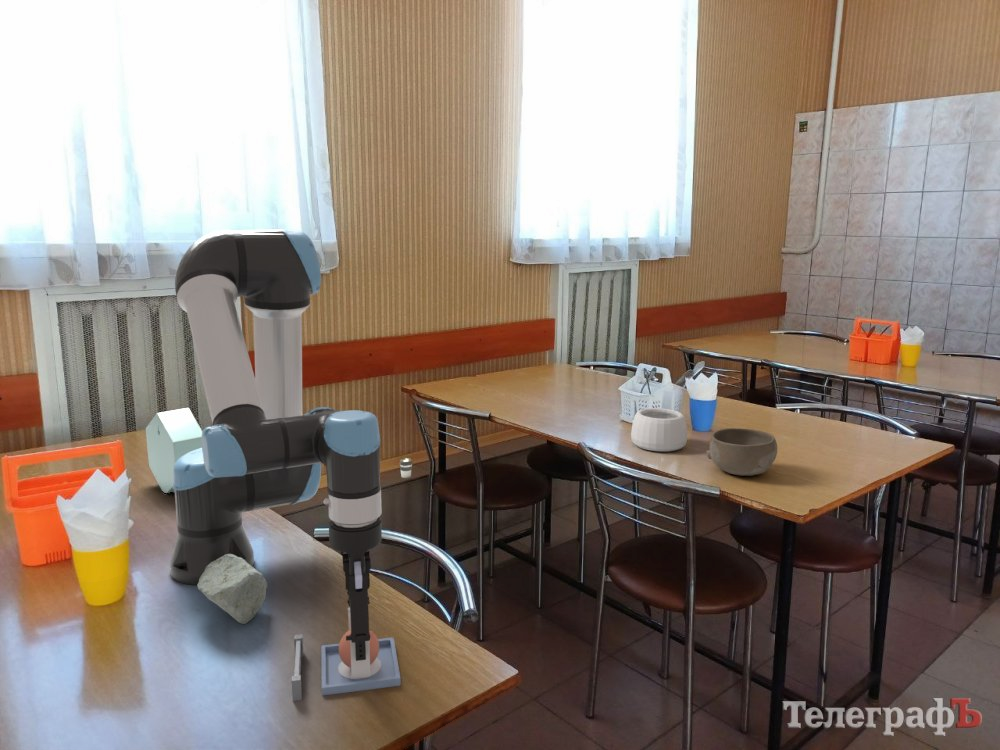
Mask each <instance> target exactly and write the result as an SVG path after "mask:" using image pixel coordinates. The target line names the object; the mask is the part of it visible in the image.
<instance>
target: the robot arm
mask: <svg viewBox="0 0 1000 750" xmlns="http://www.w3.org/2000/svg"><path fill="white" fill-rule="evenodd" d="M321 285H322V274H321V267H320V261H319V256H318V253H317V250H316V247H315V245H314V243H313V241H312V239H311V238H310V237H309V235H308V234H307V233H305V232H303V231H300V230H293V229H292V230H288V229H282V228H281V229H243V230H242V229H241V230H238V229H237V230H231V229H221V230H215V231H212V232H210V233H207V234H205V235H203V236H201V237H200V238H199V239H197V240H195V241H194V243H193V244H191V245H190V246H189V247H188V249H187V250H186V251H185V253H184V254H183V256H182V258H181V259H180V261H179V263H178V267H177V269H176V273H175V278H174V291H175V295H176V301H177V304H178V306H179V307H180V309H181V310H183V311H184V312H185V313H186V315H187V320H188V323H189V328H190V333H191V336H192V340H193V345H194V348H195V349H194V350H195V353H196V358H197V359H196V360H197V363H198V367H199V371H200V376H201V380H202V383H203V389H204V394H205V399H206V402H207V406H208V410H209V416H210V420H211V424H212V425H211V426H207V427H205V428H204V429H203V430H202V448H199V449H196V450H193V451H191V452H189V453H186V454H185V455H183V456H182V457H180V458H179V459H178V460H177V461H176V463H175V464H174V468H173V489H174V490H175V492H174V499H175V500H174V501H175V514H176V516H175V517H176V526H177V527H176V528H177V537H176V538H175V544H174V547H173V551H172V555H171V559H170V564H169V566H170V567H169V568H170V574H171V575H170V576H171V578H172V579H173V580H174V581H176V582H178V583H180V584H184V585H190V586H191V585H192V586H197V584H198V583H199V579H200V577H201V575H202V574H203V573H204V571H205V569H206V566H207V565H209V564H210V563H211V562H213V561H215V560H217V559H218V558H220V557H222V556H224V555H225V554H233V555H235V556H237V557H240V558H243V560H245V561H246V562H247V563H248V564H249V565H251V566H252V567H253V568H254V564H255V554H254V553H255V552H254V548H253V546H252V544H251V541H250V540H249V538H248V535H247V532H246V530H245V529H244V524H243V513H246V512H252V511H258V510H264V509H269V508H275V507H276V508H277V507H282V506H287V505H288V506H289V505H291V506H292V505H296V504H297V503H301V502H306V501H309V500H311V499H312V498H314V496H315V495H316V494H317V492H318V490H319V488H320V484H321V483H320V482H321V476H322V464H323V465H324V466H325V468H326V481H327V482H326V484H327V485H326V486H327V489H326V490H327V497H324V499H323V504H324V505H326V506H328V518H329V519H330V520H329V522H328V540H329V545H330V547H331V548H332V549H334V550H335V551H338V552H340V553H341V552H342V556H341V557H342V569H343V572H344V577H345V578H344V579H345V590H346V594H347V597H348V599H347V604H348V606H349V607H347V615H348V616H347V617H348V631H349V630H351V634H350V635H347V636H346V641H348V640H350V649H351V677H352V679H354V678H362V677H370V642H369V640H370V633H369V629H370V620H369V619H370V617H369V614H370V613H369V605H370V597H369V591H368V590H369V589H370V587H371V582H370V581H371V580H370V571H371V568H372V564H371V562H372V561H371V557H370V550H373V549H375V548H377V547H378V546H379V545H380V544H381V542H382V540H383V538H382V537H383V536H382V533H383V532H382V518H381V517H380V516H381V515H382V513H383V512H382V488H381V451H380V449H381V448H380V447H381V446H380V445H381V435H380V428H379V420H378V418H377V416H376V415H375V414H374V413H372V412H370V411H364V410H361V409H358V410H357V409H356V410H355V409H351V410H350V409H349V410H341V411H339V410H336V409H333V408H332V407H326V406H319V407H315V408H311V409H310V410H309V411H307V412H305V414H303V334H302V333H303V332H302V331H303V327H302V326H303V325H302V324H303V321H302V319H303V317H302V316H303V313H304V312H305V311H306V310H307V309H308V308H309V307H310V304H311V295H312V296H315V294H318V293H319V292H320V289H321ZM238 297H240V298H241V297H244V299H243V302H244V303H243V304H244V307H246V308H247V309H248V310H249V311H250V312H251V313H252V315H253V338H254V339H253V340H254V341H253V342H254V343H253V347H254V370H253V366H252V362H251V359H250V356H249V355H250V354H249V351H248V347H247V345H246V340H245V336H244V333H243V329H242V326H241V322H240V318H239V315H238V312H237V307H236V304H235V303H236V301H237V299H238Z"/></svg>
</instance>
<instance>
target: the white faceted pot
mask: <svg viewBox="0 0 1000 750" xmlns="http://www.w3.org/2000/svg"><path fill="white" fill-rule="evenodd" d="M632 420H633V421H632V426H631V433H630V438H631V442H633V444H634V445H635V446H636V447H638V448H640V449H644V450H648V451H653V452H675V451H679V450H681V449H683V448H684V447H685V446H686V444H687V441H688V427H687V421H686V417H685V416H684V414H683V413H682V412H680V411H677V410H673V409H669V408H659V407H655V408H654V407H650V408H649V407H648V408H644V409H641V410H638V411H637V412H635V415H634V417H633V419H632Z"/></svg>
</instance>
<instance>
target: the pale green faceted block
mask: <svg viewBox="0 0 1000 750" xmlns="http://www.w3.org/2000/svg"><path fill="white" fill-rule="evenodd" d="M202 432H203V430H202V429H201V427H200V425H199V422H198V421H197V420H196V418H195V416H194V414H193V413H192V411H191V409H190V407H185V408H178V409H174V410H173V409H172V410H167V411H161V412H156V413H155V415H154V416H153V417H152V419H151V421H150V422H149V423H148V424H147V425H146V428H145V435H146V436H145V437H146V446H147V448H146V449H147V459H148V466H149V468H150V471H151V472H152V474H153V476H154V478H155V480H156V483H157V484H158V486H159V488H160V490H161V491H163V492H165V493H169V494H171V493H170V492H173V493H175V492H174V491H175V490H174V489H173V468H174V464H175V463H176V461H177V460H178V459H179V458H180V457H182V456H183V455H185V454H186V453H189V452H191V451H193V450H196V449H199V448H202ZM163 492H162V493H163Z"/></svg>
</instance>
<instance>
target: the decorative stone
mask: <svg viewBox="0 0 1000 750" xmlns="http://www.w3.org/2000/svg"><path fill="white" fill-rule="evenodd" d="M196 586H197V589H198V590H199V591H200V592H201V593H202V594H203V595H204V596H205V597H206V598H207V599H208V600H209V601H211V602H213V603H214V604H216V605H217V606H218V607H219V608H220V609H222V610H223V611H224V612H225V613H227V614H228V615H229V616H230V617H232V618H233V620H235V621H236V622H237V623H239V624H243V625H244V624H245V625H246V624H247V623H248V622H250V621H251V620H252V619H254V617H255V616H256V614H257V613H259V611H260V610H261V609H262V607H263V605H264V604H263V603H264V602H265V600H266V599H267V596H266V595H267V588H268V582H267V580H266V579H265V578H264V574H263V573H261V572H260V571H258V570H257V569H256V568H255V567H254V566H253V567H252V566H251V565H249V564H248V563H247V562H246V561H245V560H243V558H240V557H237V556H235V555H233V554H225V555H224V556H222V557H220V558H218V559H217V560H215V561H213V562H211V563H210V564H209V565H207V566H206V569H205V571H204V573H203V574H202V575H201V577H200V579H199V583H198V584H197V585H196Z"/></svg>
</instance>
